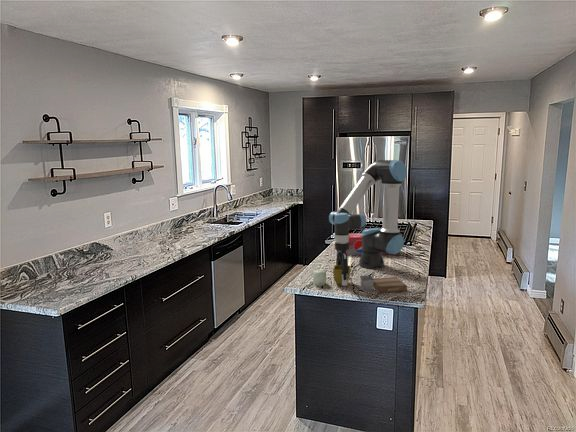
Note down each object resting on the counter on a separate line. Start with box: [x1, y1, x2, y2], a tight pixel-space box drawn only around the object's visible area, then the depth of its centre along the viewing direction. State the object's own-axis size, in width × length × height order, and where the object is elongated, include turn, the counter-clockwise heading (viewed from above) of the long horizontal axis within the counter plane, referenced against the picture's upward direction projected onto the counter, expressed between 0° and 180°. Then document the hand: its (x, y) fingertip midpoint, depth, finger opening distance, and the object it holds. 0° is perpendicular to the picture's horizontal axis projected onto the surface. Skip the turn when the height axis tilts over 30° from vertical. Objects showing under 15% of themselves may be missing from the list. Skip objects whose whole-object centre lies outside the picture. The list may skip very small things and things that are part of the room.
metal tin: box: [360, 275, 375, 293], centre depth 215 cm, size 5×5×7 cm
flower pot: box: [332, 264, 352, 286], centre depth 225 cm, size 9×9×9 cm
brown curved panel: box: [373, 276, 408, 294], centre depth 217 cm, size 14×14×3 cm
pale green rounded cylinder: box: [312, 269, 327, 287], centre depth 226 cm, size 7×7×7 cm
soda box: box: [345, 232, 401, 257], centre depth 287 cm, size 40×14×13 cm, turn 78°
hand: (342, 282), depth 226 cm, fingers closed on flower pot, 10 cm apart
